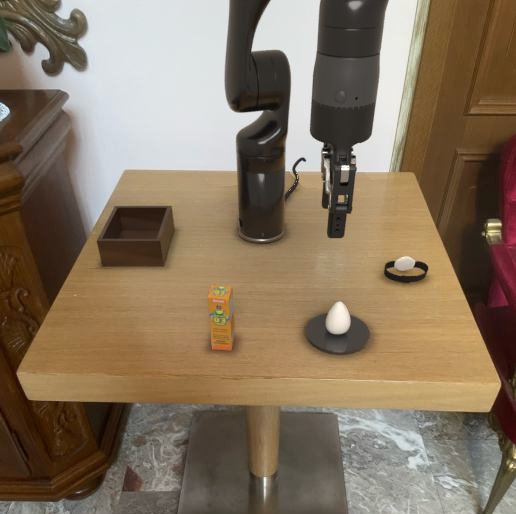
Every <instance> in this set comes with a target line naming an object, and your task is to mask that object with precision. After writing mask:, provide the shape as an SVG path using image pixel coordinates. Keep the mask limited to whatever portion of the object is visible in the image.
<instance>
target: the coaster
mask: <svg viewBox="0 0 516 514" xmlns="http://www.w3.org/2000/svg"><path fill="white" fill-rule="evenodd" d="M328 313H329V312H324V313H321V314H318V315H316V316H314V317H312V318H311V319H310V320H309V321H308V322H307V323H306V325H305V329H304V330H305V331H304V335H305V338H306V340H307V342H308V343H309V344H310V345H311V346H312V347H313V348H314V349H317V350H318V351H320V352H323V353H326V354H329V355H334V356H335V355H336V356H345V355H351V354H355V353H357V352H359V351H361V350H363V349H365V347H366V346H367V345H368V343H370V342H369V341H370V336H371V332H370V328H369V327H368V325H367V324H366V323H365V322H364V321H363V320H362V319H361V318H359V317H356V316H354V315H352V314H350V319H351V322H350V327H349V329H348V330H347V331H346V332H345V333H343V334H332V333H330V332H329V331H328V330H327V328H326V317H327V315H328Z"/></svg>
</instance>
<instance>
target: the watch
mask: <svg viewBox="0 0 516 514" xmlns="http://www.w3.org/2000/svg"><path fill="white" fill-rule="evenodd" d="M391 268H395V269H396V270H397V271H401V272H403V271H409V270H411V269H412V268H413V269H420V270H421V271H423V272H424V273H422V274H419V275H403V274H402V275H399V274H396V273H395V274H394V273H392V272H390V271H389V270H388V269H391ZM428 271H429V266H428V264H427V263H426V262H423V261H419V260H414V258H412V257H410V256H408V255H406V256H402V257H399V258H397V259H396V260H391V261H388V262H386V263H385V264H384V269H383V275H384V277H386V278H387V279H388V280H390V281H393V282H397V283H402V284H410V283H417V282H421V281H422V280H424V279H425V278H426V276H427V274H428Z"/></svg>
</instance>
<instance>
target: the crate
mask: <svg viewBox="0 0 516 514" xmlns="http://www.w3.org/2000/svg"><path fill="white" fill-rule="evenodd" d="M173 215H174V213H173V207H172V205H114V206H113V208H112V210H111V212H110V214H109V216H108V218H107V220H106V222H105V224H104V226H103V228H102V229H101V231H100V233H99V235H98V237H97V239H96V245H97V249H98V253H99V257H100V261H101V262H100V263H101V267H164V266H165V265H166V261H167V257H168V254H169V251H170V247H171V243H172V241H173V237H174V234H175V231H176V230H175V222H174V216H173Z"/></svg>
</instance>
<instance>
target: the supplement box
mask: <svg viewBox="0 0 516 514" xmlns="http://www.w3.org/2000/svg"><path fill="white" fill-rule="evenodd" d="M207 306H208V320H209V331H210V332H209V333H210V342H211V343H210V344H211V350H214V351H229V352H231V351H232V349H233V347H234V344H235V339H236V332H235V314H234V313H235V311H234V288H233V286H232V285H227V286H226V285H217V284H211V285H210V286H209V291H208V295H207Z"/></svg>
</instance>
